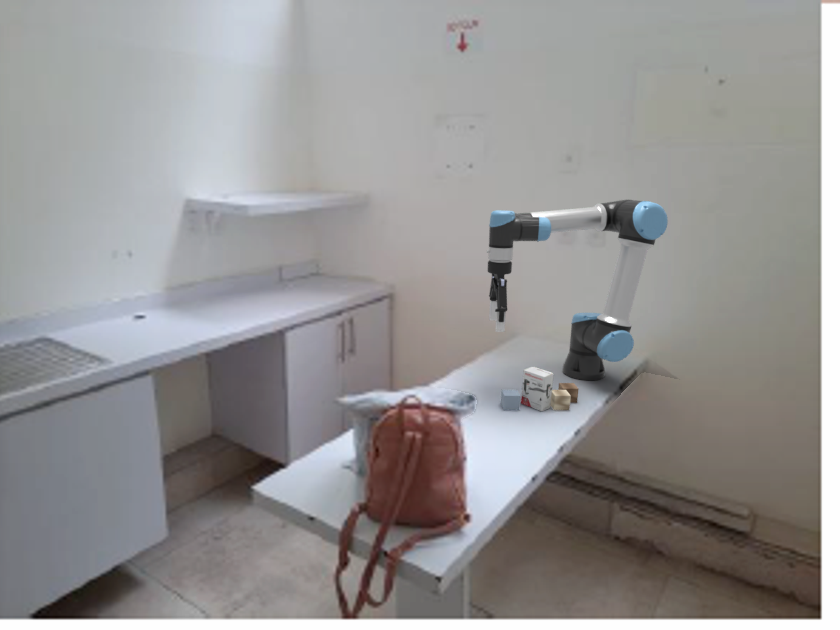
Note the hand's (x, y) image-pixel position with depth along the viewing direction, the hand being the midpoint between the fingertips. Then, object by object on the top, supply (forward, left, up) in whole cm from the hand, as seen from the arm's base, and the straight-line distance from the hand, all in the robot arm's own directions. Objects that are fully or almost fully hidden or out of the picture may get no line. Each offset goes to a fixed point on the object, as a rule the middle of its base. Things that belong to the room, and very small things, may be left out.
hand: (496, 325), depth 186 cm
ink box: (-12, +9, -24) cm, 29 cm away
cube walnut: (-24, +4, -24) cm, 34 cm away
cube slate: (-4, +10, -24) cm, 26 cm away
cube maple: (-20, +10, -24) cm, 33 cm away
